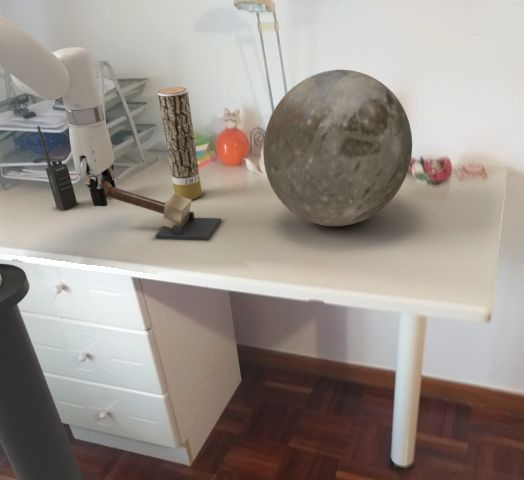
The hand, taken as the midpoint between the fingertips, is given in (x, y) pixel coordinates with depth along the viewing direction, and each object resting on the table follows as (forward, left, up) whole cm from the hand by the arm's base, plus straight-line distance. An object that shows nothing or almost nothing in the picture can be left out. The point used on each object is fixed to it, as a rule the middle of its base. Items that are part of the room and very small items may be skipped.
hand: (105, 200), depth 127 cm
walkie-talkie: (+12, +18, -7) cm, 23 cm away
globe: (+7, -51, -7) cm, 52 cm away
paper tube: (+20, -12, -7) cm, 24 cm away
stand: (0, -18, -7) cm, 19 cm away
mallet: (0, -7, -2) cm, 8 cm away
